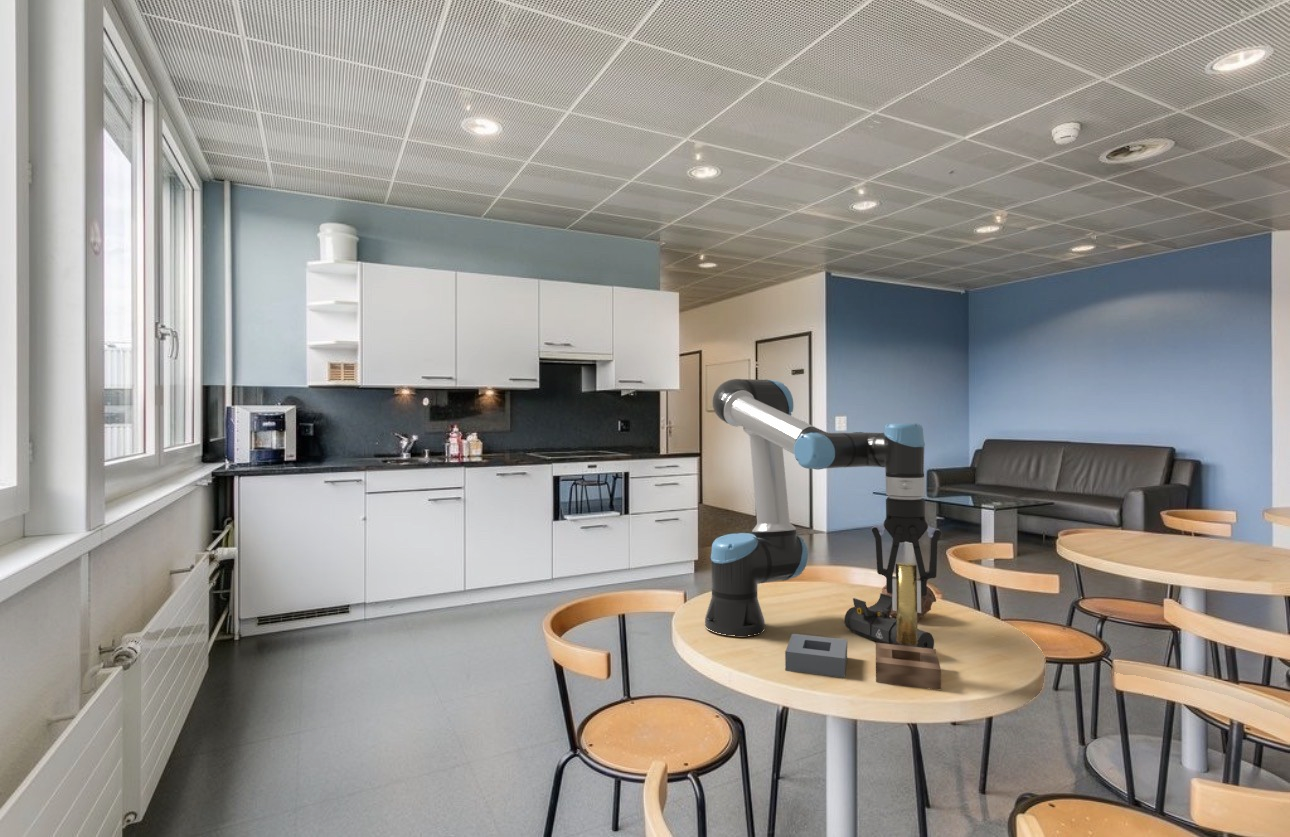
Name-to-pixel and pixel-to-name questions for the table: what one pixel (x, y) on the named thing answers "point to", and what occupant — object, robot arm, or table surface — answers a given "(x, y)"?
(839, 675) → the mount block
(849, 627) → the laser sight
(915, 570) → the brass pin
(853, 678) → the table surface
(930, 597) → the brown lumpy rounded lump
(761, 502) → the robot arm
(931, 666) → the dock block
